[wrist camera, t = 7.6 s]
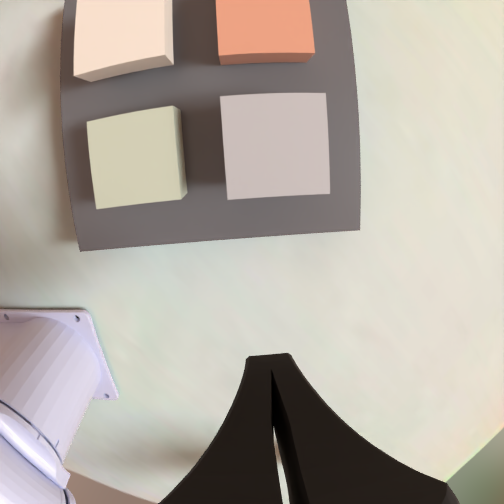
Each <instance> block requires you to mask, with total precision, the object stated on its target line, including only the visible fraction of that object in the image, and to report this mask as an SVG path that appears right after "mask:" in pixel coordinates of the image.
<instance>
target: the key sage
mask: <svg viewBox="0 0 504 504" xmlns="http://www.w3.org/2000/svg"><path fill="white" fill-rule="evenodd" d="M87 134H88V146H89V156H90V165H91V174H92V182H93V189H94V196H95V203H96V209H103V208H110V207H118V206H126V205H135V204H143V203H152V202H161V201H171V200H181V199H182V198H183V197H184V196H185V195H186V194H187V193H188V192H187V182H186V172H185V161H184V149H183V137H182V124H181V110H180V109H178V108H176V107H175V106H167V107H160V108H154V109H148V110H142V111H136V112H131V113H125V114H120V115H115V116H110V117H106V118H101V119H97V120H92V121H88V122H87Z"/></svg>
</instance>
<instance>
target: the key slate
mask: <svg viewBox="0 0 504 504" xmlns="http://www.w3.org/2000/svg"><path fill="white" fill-rule="evenodd" d="M220 104H221V118H222V132H223V146H224V160H225V173H226V185H227V198H228V200H233V199H246V198H260V197H276V196H294V195H314V194H330V167H329V140H328V120H327V104H326V93H266V94H246V95H231V96H220Z"/></svg>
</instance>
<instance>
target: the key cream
mask: <svg viewBox="0 0 504 504" xmlns="http://www.w3.org/2000/svg"><path fill="white" fill-rule="evenodd" d="M170 65H174V59H173V27H172V0H77V7H76V19H75V36H74V76H75V77H78V78H81V79H84V80H87V81H90V82H93V81H97V80H101V79H105V78H109V77H113V76H118V75H122V74H127V73H131V72H136V71H141V70H147V69H152V68H158V67H164V66H170Z"/></svg>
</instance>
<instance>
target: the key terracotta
mask: <svg viewBox="0 0 504 504" xmlns="http://www.w3.org/2000/svg"><path fill="white" fill-rule="evenodd" d="M216 16H217V35H218V52H219V59H220V64H221V65H231V64H247V63H274V62H304V63H307V61H308V60H309V59H310V58H311V57H312V56H313V55H314V54H315V47H314V38H313V29H312V20H311V12H310V4H309V0H216Z"/></svg>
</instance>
